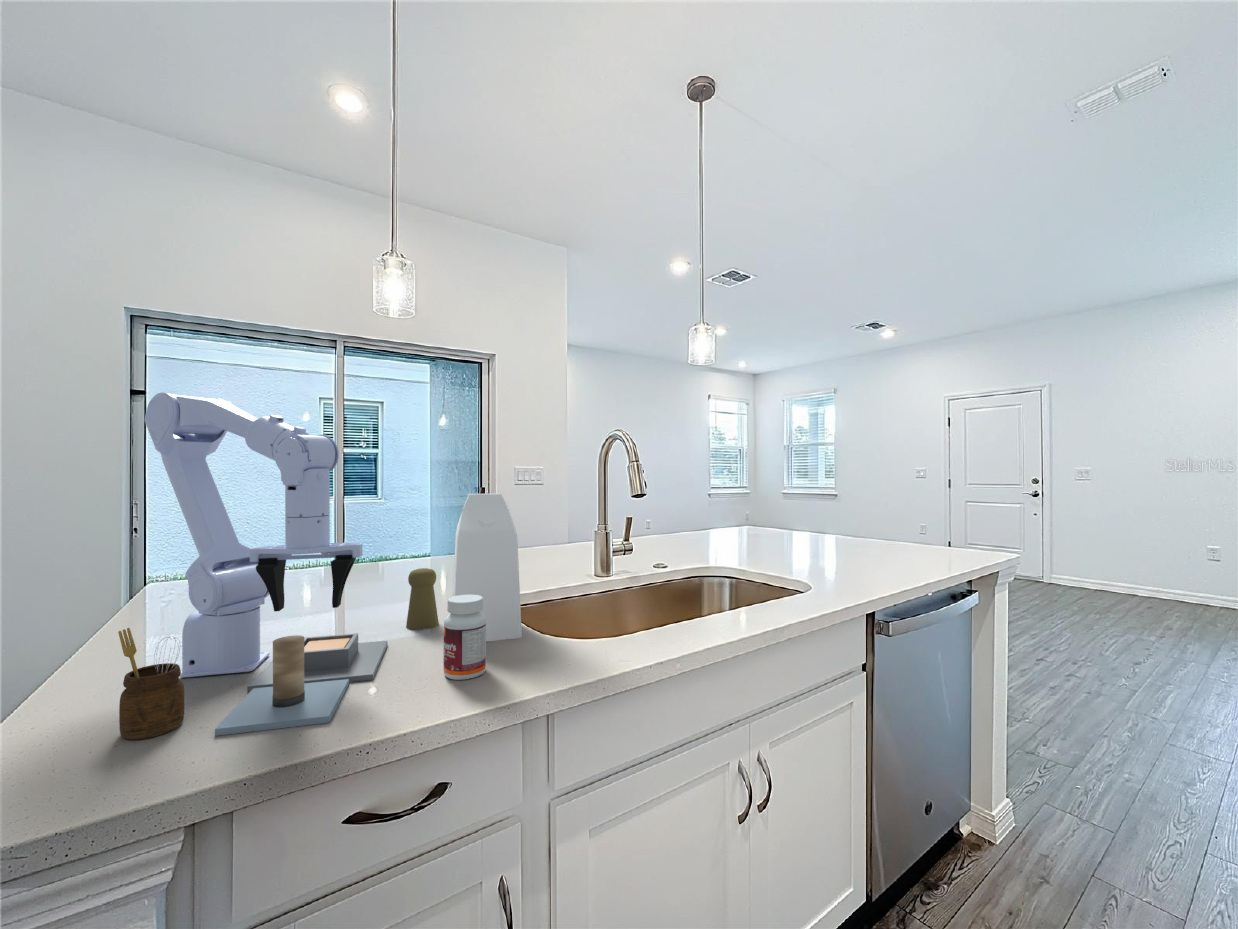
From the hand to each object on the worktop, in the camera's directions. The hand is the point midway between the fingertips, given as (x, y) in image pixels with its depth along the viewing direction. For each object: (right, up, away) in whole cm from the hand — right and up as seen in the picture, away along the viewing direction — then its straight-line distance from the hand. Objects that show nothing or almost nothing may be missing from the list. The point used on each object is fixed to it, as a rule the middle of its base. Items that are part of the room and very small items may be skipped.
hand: (308, 607), depth 81 cm
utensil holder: (-10, -11, -16) cm, 21 cm away
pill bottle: (+23, -11, +2) cm, 25 cm away
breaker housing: (0, -10, +5) cm, 11 cm away
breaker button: (0, -9, +5) cm, 10 cm away
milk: (+21, -11, +22) cm, 32 cm away
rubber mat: (+3, -10, -10) cm, 15 cm away
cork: (+7, -11, +26) cm, 29 cm away
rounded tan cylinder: (+3, -10, -10) cm, 14 cm away
